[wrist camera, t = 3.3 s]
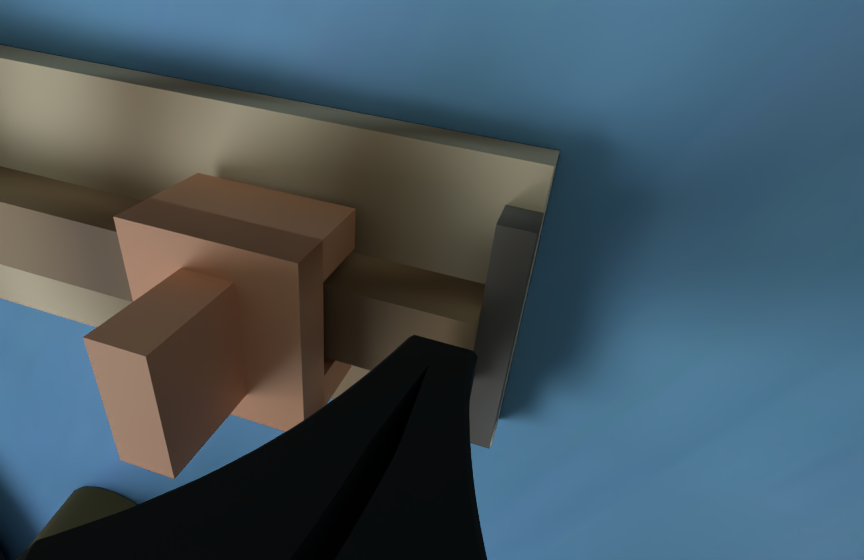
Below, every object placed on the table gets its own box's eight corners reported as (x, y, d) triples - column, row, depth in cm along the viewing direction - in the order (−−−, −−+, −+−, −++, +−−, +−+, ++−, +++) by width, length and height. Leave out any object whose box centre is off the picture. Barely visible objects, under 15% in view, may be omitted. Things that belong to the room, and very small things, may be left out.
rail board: (559, 151, 12) (521, 261, 7) (498, 420, 16) (452, 585, 12) (-153, 15, 16) (-435, 39, 11) (-49, 261, 20) (-226, 342, 16)
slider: (355, 208, 12) (217, 339, 8) (351, 366, 15) (243, 529, 11) (197, 173, 13) (-2, 275, 9) (219, 328, 15) (70, 465, 11)
